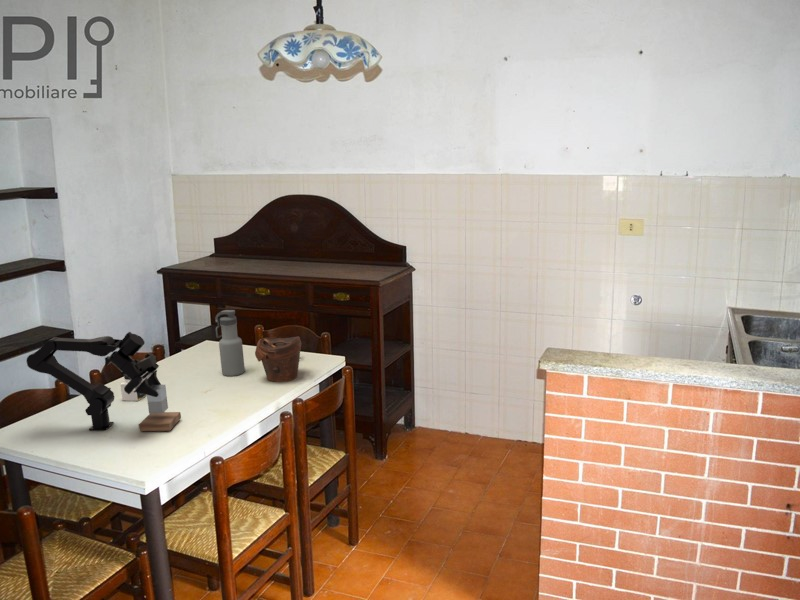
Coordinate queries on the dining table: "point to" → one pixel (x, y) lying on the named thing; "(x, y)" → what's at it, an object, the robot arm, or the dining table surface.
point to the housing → (158, 400)
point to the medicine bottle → (132, 395)
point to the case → (279, 357)
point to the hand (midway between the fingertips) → (160, 393)
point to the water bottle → (230, 344)
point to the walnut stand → (160, 421)
